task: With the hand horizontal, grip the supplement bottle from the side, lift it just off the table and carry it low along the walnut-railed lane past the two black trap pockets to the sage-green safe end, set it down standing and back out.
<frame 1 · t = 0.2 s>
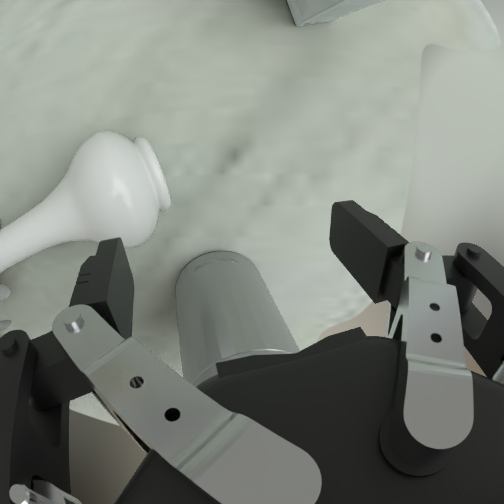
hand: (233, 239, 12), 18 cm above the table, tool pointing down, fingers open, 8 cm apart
flower vase: (41, 212, 26), on the table
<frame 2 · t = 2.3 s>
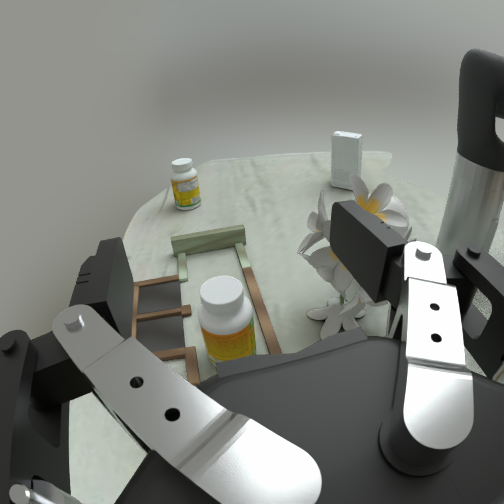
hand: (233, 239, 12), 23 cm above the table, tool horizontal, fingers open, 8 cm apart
lane board: (220, 301, 41), on the table
supplement bottle 2: (188, 205, 65), on the table
skincare box: (344, 186, 69), on the table
supplement bottle: (232, 354, 35), on the table
flower vase: (358, 280, 43), on the table
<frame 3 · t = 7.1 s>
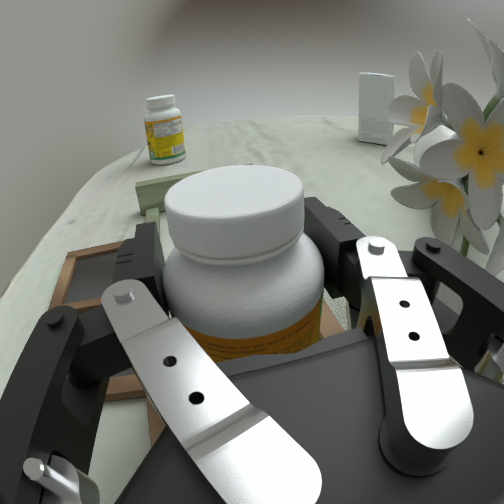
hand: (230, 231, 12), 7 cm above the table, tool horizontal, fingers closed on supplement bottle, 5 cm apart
lane board: (221, 278, 21), on the table
supplement bottle 2: (168, 160, 45), on the table
skincare box: (375, 142, 50), on the table
supplement bottle: (256, 385, 14), on the table, touching gripper
flower vase: (446, 241, 24), on the table
when the fingers open (7 cm above the table, at t = 12.6 s): supplement bottle stays where it is, on the table.
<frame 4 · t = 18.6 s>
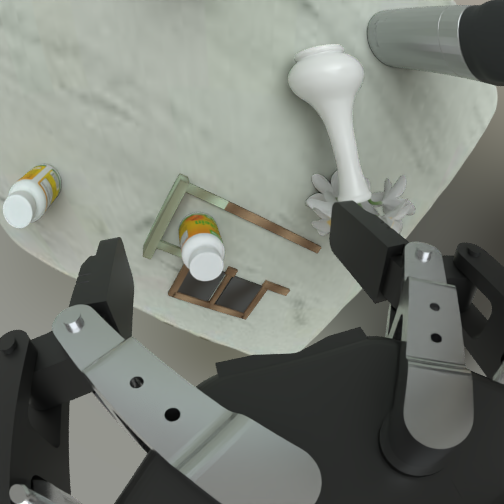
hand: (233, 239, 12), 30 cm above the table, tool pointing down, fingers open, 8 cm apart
lane board: (242, 245, 48), on the table
supplement bottle 2: (44, 181, 35), on the table
supplement bottle: (197, 228, 45), on the table
flower vase: (319, 138, 42), on the table
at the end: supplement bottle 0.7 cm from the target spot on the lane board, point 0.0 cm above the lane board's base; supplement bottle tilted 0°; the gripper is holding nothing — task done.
